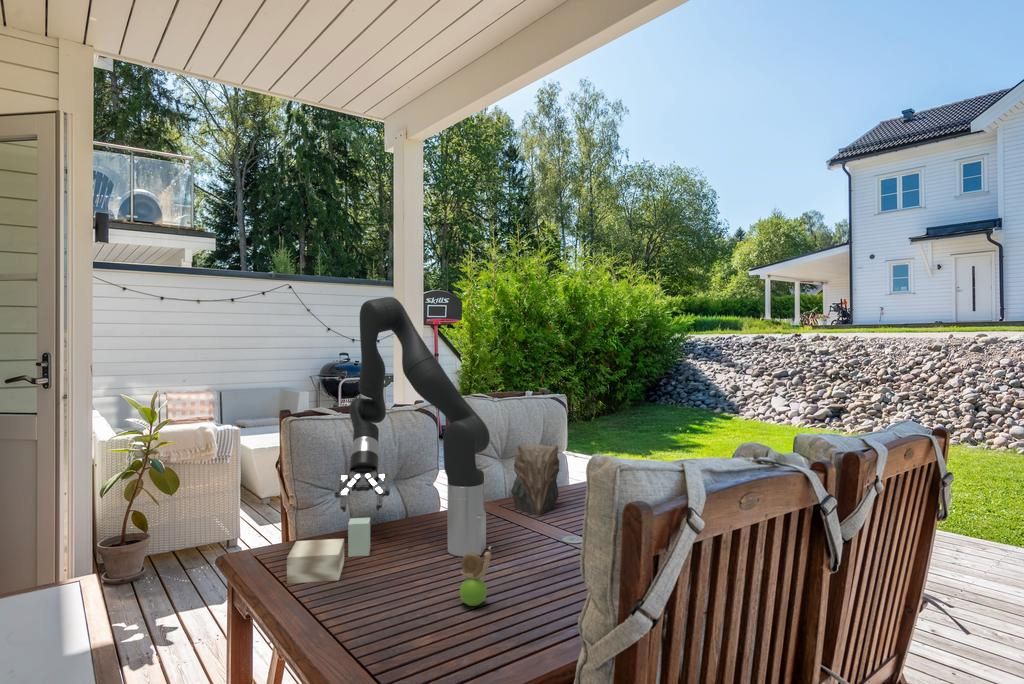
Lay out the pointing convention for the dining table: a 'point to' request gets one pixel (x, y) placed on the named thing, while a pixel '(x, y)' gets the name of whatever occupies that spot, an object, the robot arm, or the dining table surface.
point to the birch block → (315, 561)
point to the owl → (536, 478)
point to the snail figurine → (474, 578)
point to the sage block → (359, 537)
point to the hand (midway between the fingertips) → (361, 509)
